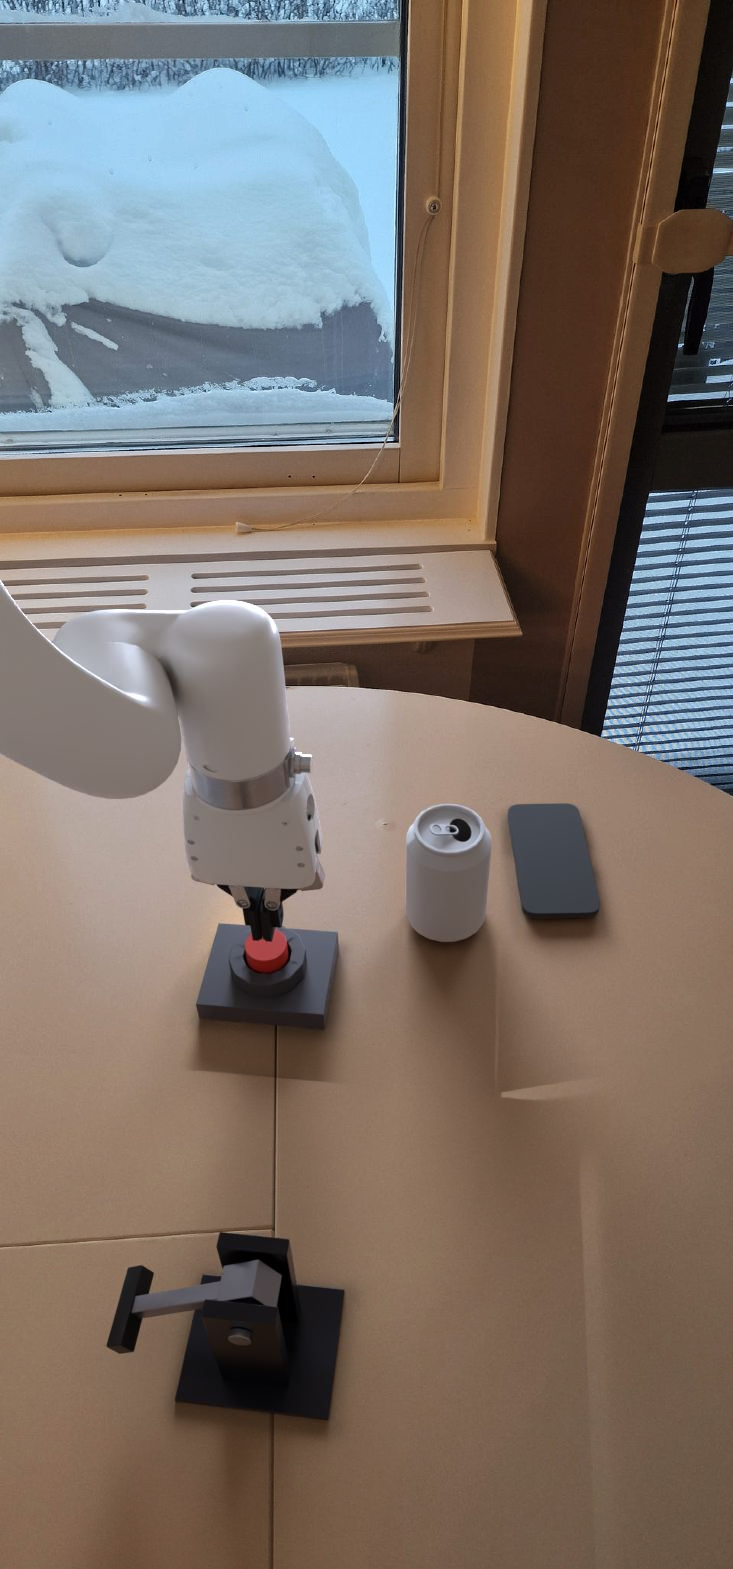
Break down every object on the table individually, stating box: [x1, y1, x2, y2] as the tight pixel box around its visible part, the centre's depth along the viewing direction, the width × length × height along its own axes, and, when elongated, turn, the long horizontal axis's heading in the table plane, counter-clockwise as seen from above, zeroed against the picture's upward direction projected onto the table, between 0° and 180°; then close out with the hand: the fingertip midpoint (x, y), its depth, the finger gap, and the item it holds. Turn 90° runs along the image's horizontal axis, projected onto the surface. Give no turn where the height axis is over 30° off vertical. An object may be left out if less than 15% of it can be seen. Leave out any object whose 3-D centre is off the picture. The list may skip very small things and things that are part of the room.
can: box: [405, 803, 493, 943], centre depth 93 cm, size 8×8×12 cm
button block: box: [195, 922, 340, 1030], centre depth 91 cm, size 11×9×4 cm
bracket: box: [174, 1231, 346, 1421], centre depth 66 cm, size 10×8×12 cm
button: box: [245, 929, 288, 973], centre depth 89 cm, size 4×4×2 cm
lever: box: [105, 1260, 282, 1355], centre depth 65 cm, size 12×5×2 cm
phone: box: [507, 802, 601, 919], centre depth 102 cm, size 7×1×15 cm
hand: (265, 927), depth 87 cm, fingers closed
